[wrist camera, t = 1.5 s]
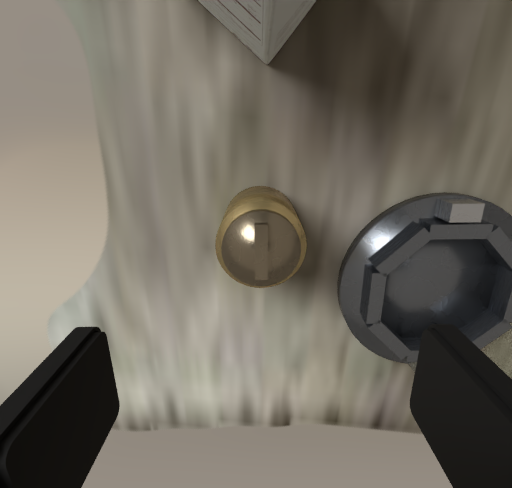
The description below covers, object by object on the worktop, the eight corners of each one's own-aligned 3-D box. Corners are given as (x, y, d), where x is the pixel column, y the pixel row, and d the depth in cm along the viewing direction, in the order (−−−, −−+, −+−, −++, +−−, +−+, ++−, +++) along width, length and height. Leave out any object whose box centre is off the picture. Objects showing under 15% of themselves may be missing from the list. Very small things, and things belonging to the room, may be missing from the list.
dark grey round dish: (344, 193, 22) (356, 201, 20) (544, 191, 22) (583, 199, 19) (331, 356, 27) (339, 380, 24) (496, 355, 27) (522, 379, 24)
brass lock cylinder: (223, 186, 22) (210, 206, 16) (297, 185, 22) (311, 205, 16) (226, 255, 24) (215, 296, 18) (294, 254, 24) (307, 295, 18)
